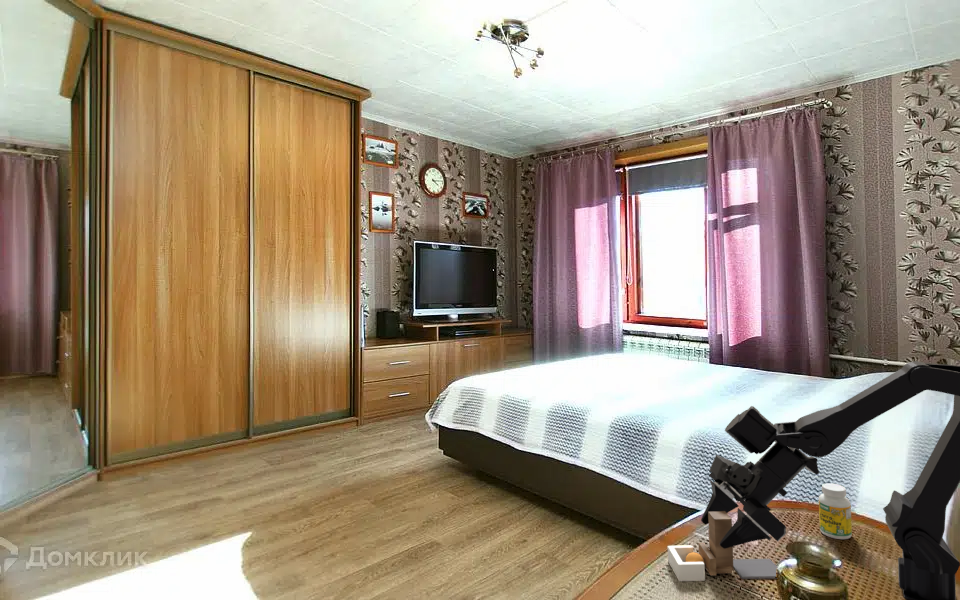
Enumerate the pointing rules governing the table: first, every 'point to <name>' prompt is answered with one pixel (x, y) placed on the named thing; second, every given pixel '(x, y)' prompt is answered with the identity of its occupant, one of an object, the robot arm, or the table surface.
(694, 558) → the ball
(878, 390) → the robot arm
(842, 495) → the supplement bottle
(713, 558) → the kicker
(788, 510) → the table surface
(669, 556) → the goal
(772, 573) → the grey flat plate
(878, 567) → the table surface
